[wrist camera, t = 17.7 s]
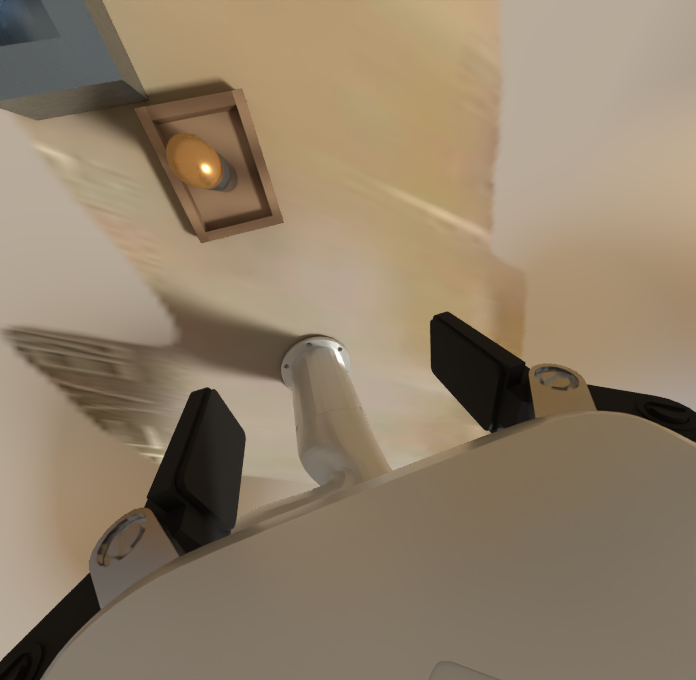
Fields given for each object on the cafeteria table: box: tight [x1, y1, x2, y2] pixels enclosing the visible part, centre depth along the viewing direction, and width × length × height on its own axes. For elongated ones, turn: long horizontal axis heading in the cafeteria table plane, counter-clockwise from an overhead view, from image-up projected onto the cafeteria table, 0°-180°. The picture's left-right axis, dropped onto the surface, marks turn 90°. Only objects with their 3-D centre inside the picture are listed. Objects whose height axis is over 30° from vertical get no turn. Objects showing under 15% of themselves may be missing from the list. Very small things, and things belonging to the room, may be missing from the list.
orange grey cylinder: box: [166, 133, 238, 192], centre depth 23 cm, size 3×3×12 cm
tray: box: [134, 89, 284, 243], centre depth 27 cm, size 12×10×2 cm
